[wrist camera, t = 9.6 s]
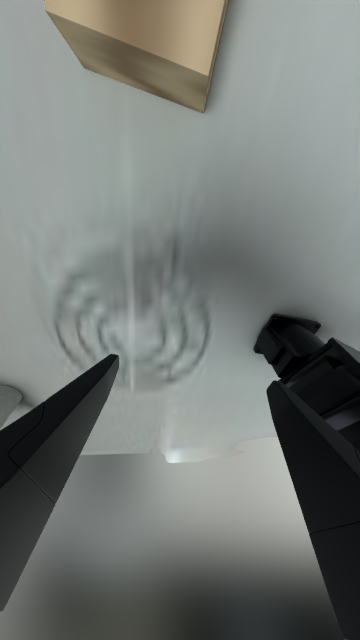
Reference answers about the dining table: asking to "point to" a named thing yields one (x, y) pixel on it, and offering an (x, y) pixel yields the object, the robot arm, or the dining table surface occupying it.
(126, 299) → the dining table surface
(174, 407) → the dining table surface
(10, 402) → the house plant
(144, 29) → the block
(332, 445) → the robot arm
